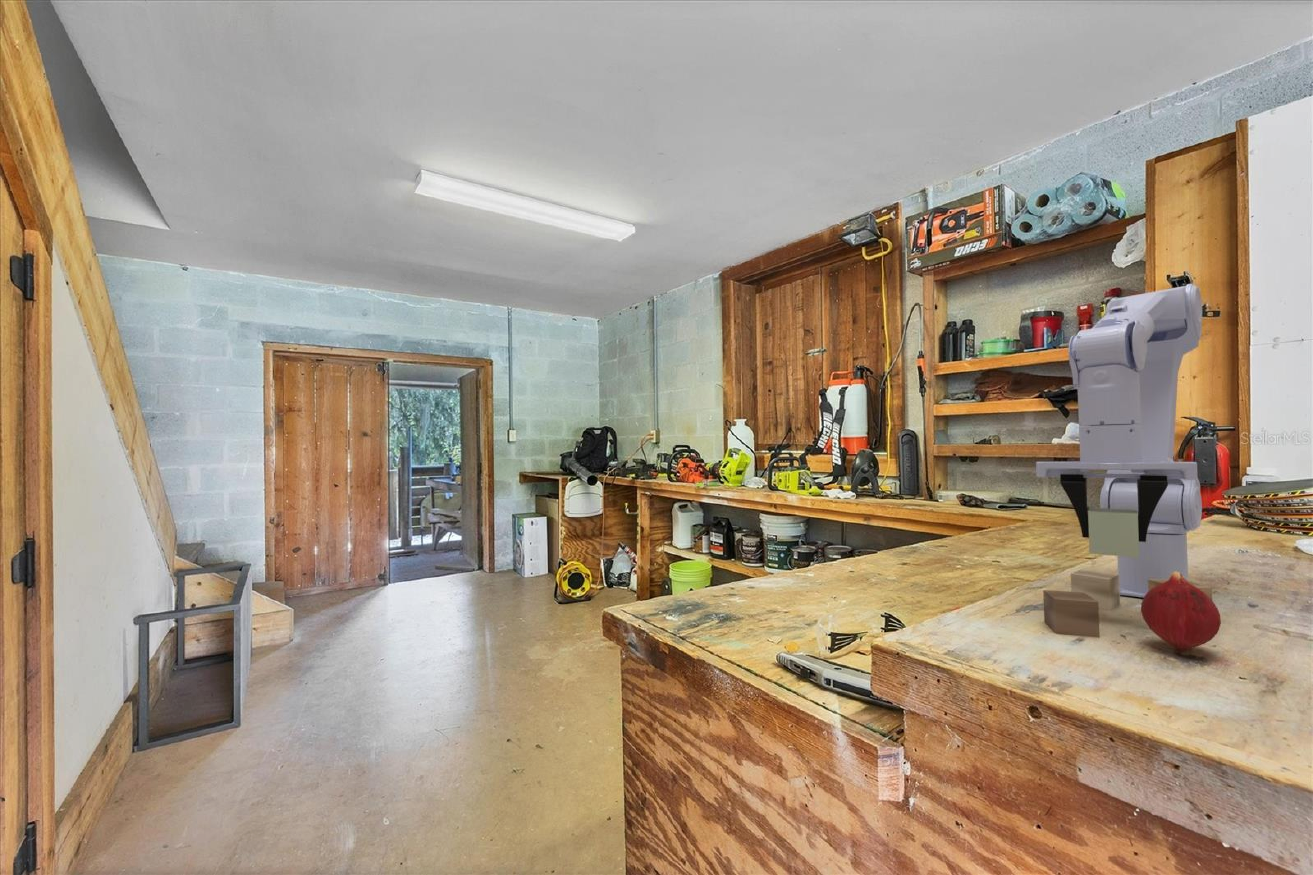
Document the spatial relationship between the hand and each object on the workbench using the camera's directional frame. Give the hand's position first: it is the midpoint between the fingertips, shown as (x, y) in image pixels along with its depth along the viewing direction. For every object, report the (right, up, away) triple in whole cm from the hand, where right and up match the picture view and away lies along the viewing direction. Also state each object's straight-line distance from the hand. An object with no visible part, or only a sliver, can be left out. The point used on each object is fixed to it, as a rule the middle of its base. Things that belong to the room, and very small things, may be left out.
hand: (1113, 538), depth 64 cm
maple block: (+4, -10, +7) cm, 13 cm away
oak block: (+10, -10, +2) cm, 14 cm away
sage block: (0, -2, 0) cm, 2 cm away
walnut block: (-7, -10, -2) cm, 13 cm away
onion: (-1, -10, -9) cm, 14 cm away
